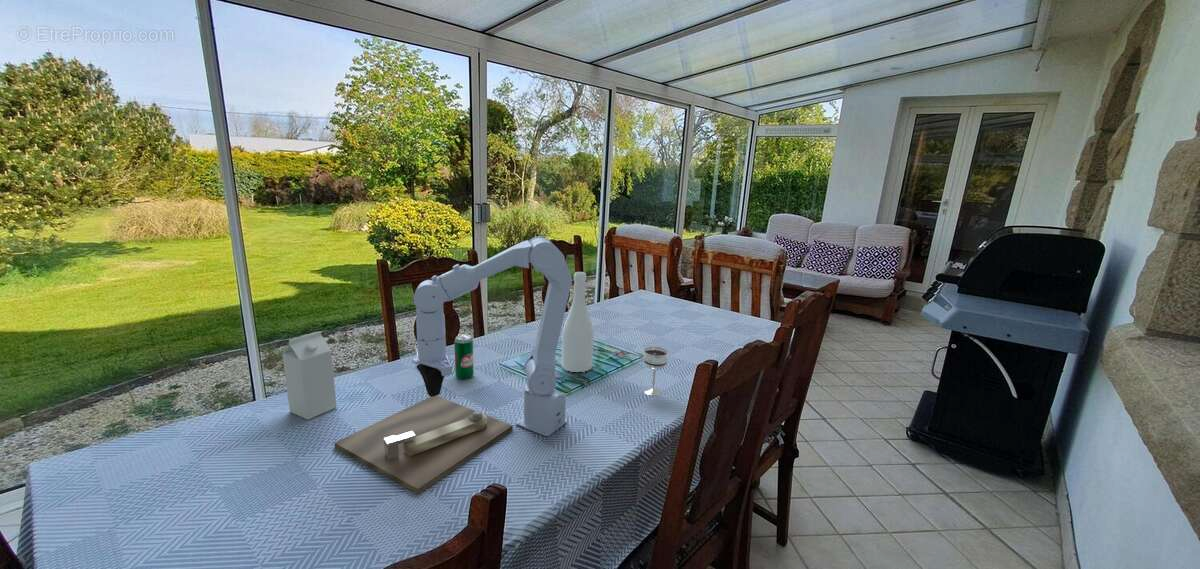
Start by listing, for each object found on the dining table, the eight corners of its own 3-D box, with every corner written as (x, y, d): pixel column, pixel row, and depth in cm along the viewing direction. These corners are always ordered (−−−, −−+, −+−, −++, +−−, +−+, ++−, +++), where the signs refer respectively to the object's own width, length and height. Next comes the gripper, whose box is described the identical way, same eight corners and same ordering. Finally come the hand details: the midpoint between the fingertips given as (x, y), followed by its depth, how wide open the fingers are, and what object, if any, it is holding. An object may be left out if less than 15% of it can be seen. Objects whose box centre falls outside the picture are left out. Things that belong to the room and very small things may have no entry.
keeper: (412, 445, 96) (411, 429, 95) (416, 451, 94) (415, 434, 93) (384, 454, 92) (383, 438, 91) (388, 460, 90) (387, 443, 89)
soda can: (462, 381, 128) (461, 341, 125) (451, 376, 131) (450, 336, 128) (477, 375, 132) (476, 336, 129) (466, 370, 135) (465, 332, 132)
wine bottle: (557, 363, 143) (559, 270, 136) (584, 359, 147) (588, 268, 140) (567, 376, 134) (570, 277, 127) (597, 371, 138) (601, 275, 131)
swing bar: (481, 419, 106) (480, 407, 105) (490, 426, 103) (489, 413, 103) (402, 448, 94) (401, 434, 93) (410, 457, 91) (409, 443, 90)
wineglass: (664, 387, 130) (667, 347, 127) (665, 398, 124) (669, 357, 121) (640, 385, 131) (643, 345, 128) (640, 396, 124) (643, 355, 122)
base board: (512, 430, 105) (512, 425, 105) (418, 494, 83) (417, 488, 83) (435, 399, 118) (434, 394, 117) (334, 447, 96) (334, 442, 95)
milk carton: (289, 412, 108) (280, 336, 104) (319, 400, 114) (311, 328, 110) (307, 420, 105) (298, 343, 101) (337, 407, 111) (329, 334, 107)
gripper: (399, 331, 100) (402, 388, 103) (427, 351, 90) (430, 413, 93) (430, 325, 104) (433, 379, 108) (460, 343, 94) (462, 402, 98)
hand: (434, 394), depth 100 cm, fingers closed
